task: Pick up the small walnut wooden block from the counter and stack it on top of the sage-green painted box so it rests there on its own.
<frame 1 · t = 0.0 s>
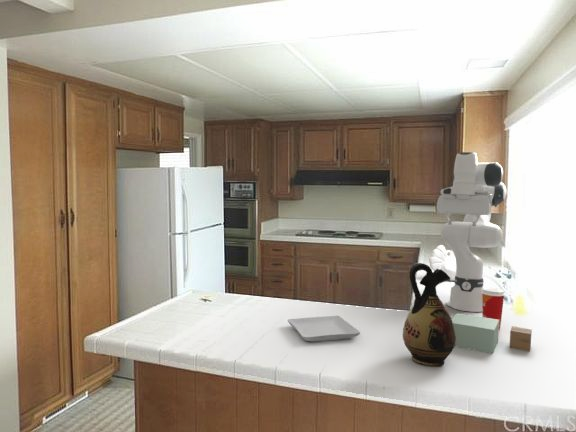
hand: (461, 225, 178), 39 cm above the worktop, tool pointing down, fingers open, 8 cm apart
decorative rooster: (446, 280, 266), on the worktop
sage box: (473, 343, 153), on the worktop
coffee cup: (491, 328, 170), on the worktop
ceramic jug: (425, 361, 136), on the worktop
walnut block: (520, 347, 150), on the worktop
salad plate: (322, 334, 160), on the worktop
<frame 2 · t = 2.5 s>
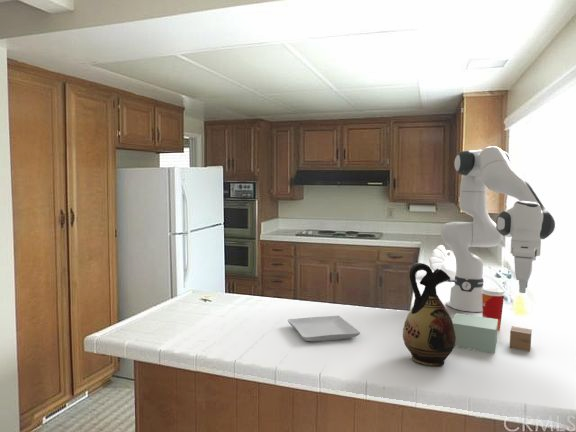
hand: (523, 290, 149), 20 cm above the worktop, tool pointing down, fingers open, 8 cm apart
nothing on the worktop moved.
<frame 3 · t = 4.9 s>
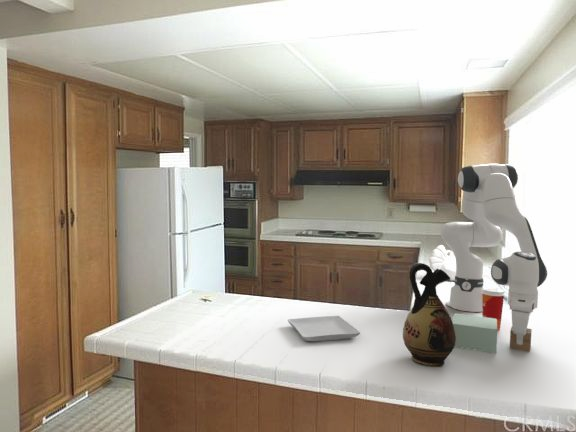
hand: (520, 340, 150), 2 cm above the worktop, tool pointing down, fingers closed on walnut block, 6 cm apart
walnut block: (520, 347, 150), on the worktop, touching gripper
everything else where it was.
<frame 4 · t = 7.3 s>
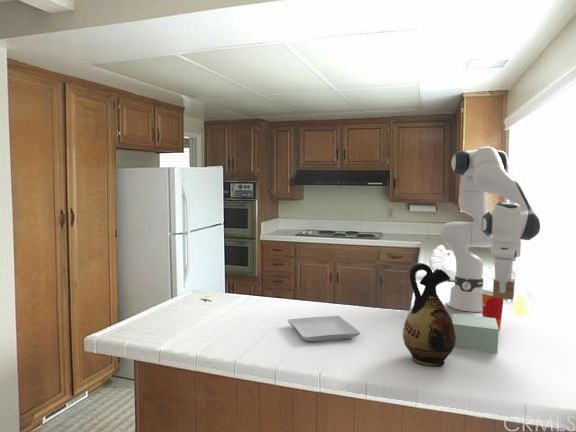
hand: (503, 290, 150), 19 cm above the worktop, tool pointing down, fingers closed on walnut block, 6 cm apart
walnut block: (503, 296, 151), point 17 cm above the worktop, touching gripper
everything else where it was.
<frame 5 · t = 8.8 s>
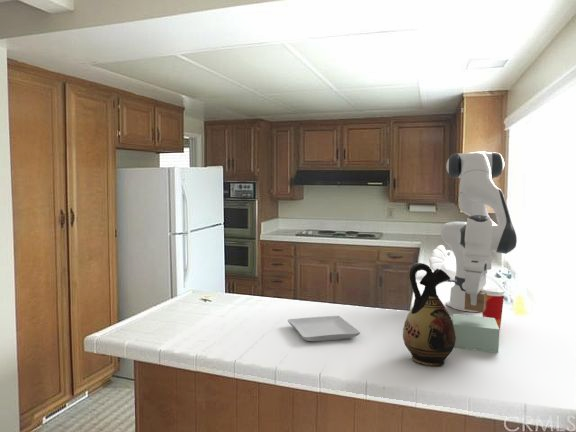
hand: (475, 302, 152), 14 cm above the worktop, tool pointing down, fingers closed on walnut block, 6 cm apart
walnut block: (475, 308, 152), point 12 cm above the worktop, touching gripper
when the fingers open (12 cm above the worktop, at t = 10.2 s): walnut block drops 2 cm, resting on sage box.
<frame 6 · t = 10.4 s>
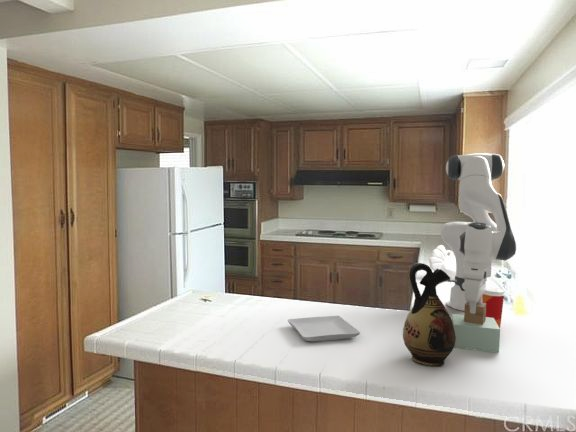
hand: (475, 310, 153), 12 cm above the worktop, tool pointing down, fingers open, 8 cm apart
sage box: (473, 343, 153), on the worktop, touching walnut block
walnut block: (474, 321, 153), point 8 cm above the worktop, touching sage box
everything else where it was.
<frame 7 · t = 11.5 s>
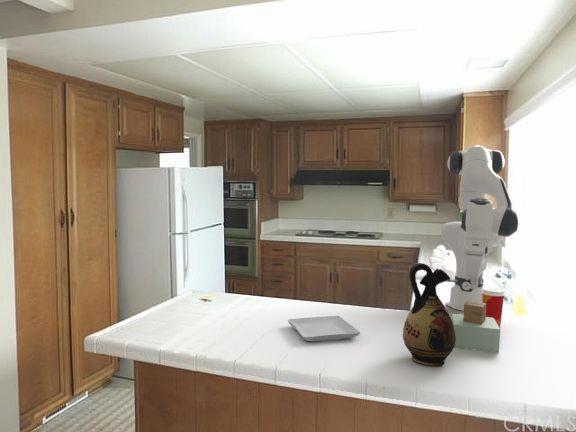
hand: (476, 286, 152), 20 cm above the worktop, tool pointing down, fingers open, 8 cm apart
sage box: (473, 343, 153), on the worktop
walnut block: (474, 320, 153), point 8 cm above the worktop
everything else where it was.
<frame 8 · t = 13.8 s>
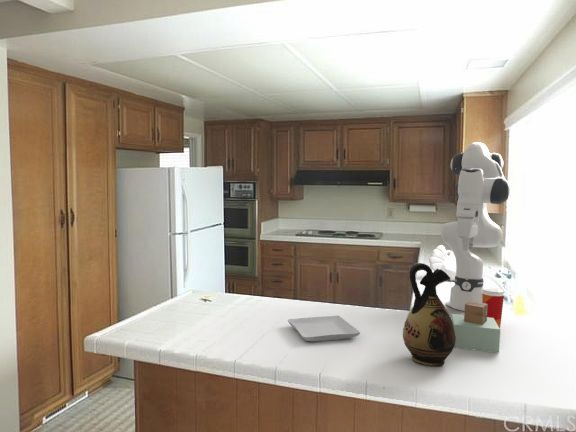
hand: (467, 249, 163), 31 cm above the worktop, tool pointing down, fingers open, 8 cm apart
sage box: (473, 343, 153), on the worktop, touching walnut block
walnut block: (475, 321, 153), point 8 cm above the worktop, touching sage box
everything else where it was.
at the end: walnut block inside the target area on the sage box (0.3 cm from its centre), point 8.0 cm above the sage box's base; walnut block tilted 0°; the gripper is holding nothing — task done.
